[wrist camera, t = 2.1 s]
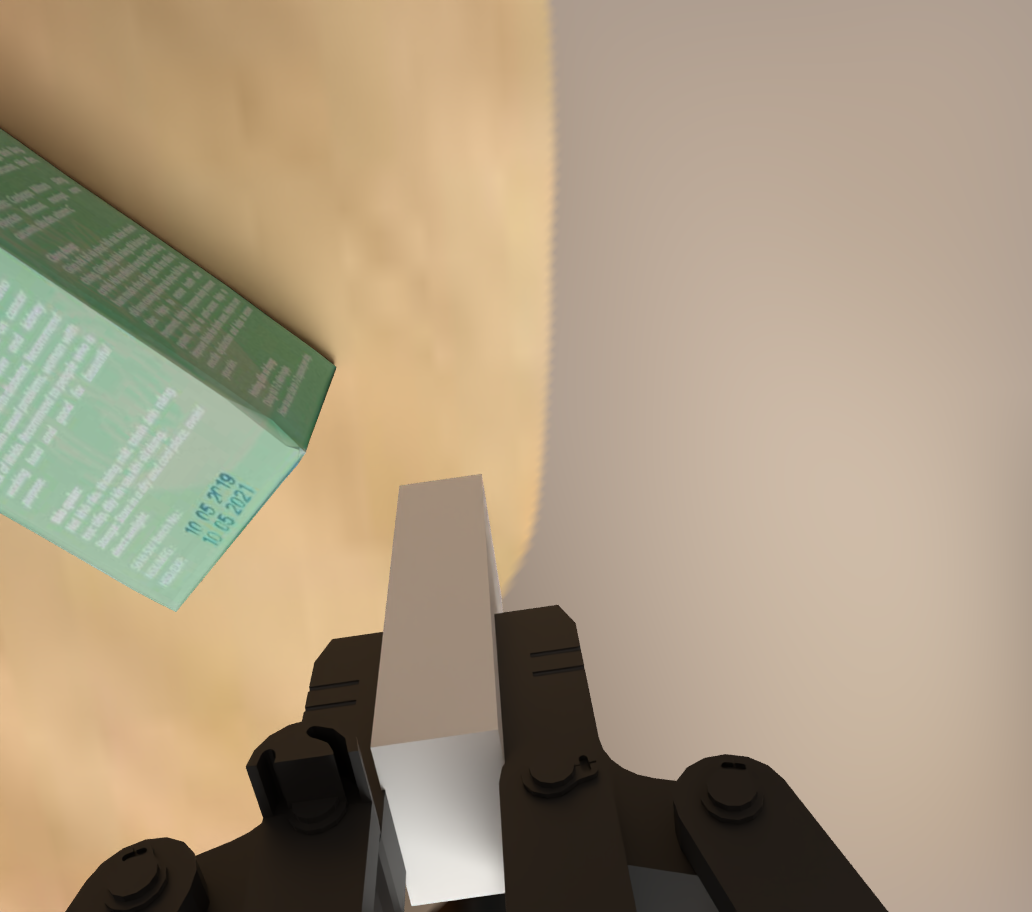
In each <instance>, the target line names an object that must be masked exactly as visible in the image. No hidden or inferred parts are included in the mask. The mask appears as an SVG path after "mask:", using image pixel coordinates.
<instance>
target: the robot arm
mask: <svg viewBox="0 0 1032 912" xmlns="http://www.w3.org/2000/svg"><path fill="white" fill-rule="evenodd" d="M309 688H310V692H308V695H307V700H306V705H305V710H306V711H305V712H304V714H303V719H302V722H299V723H295V724H291V725H288V726H286V727H285V728H283V729H281V730H279V731H277V732H276V733H274V734H272V735H270V736H269V737H268V738H267V739H266V740H265V741H264V742H263V743H262V744H260V745H259V746H258V747H257V748H256V749H255V750H254V752H253V754H252V756H251V758H250V760H249V761H248V763H247V765H246V769H247V772H248V775H249V778H250V781H251V784H252V787H253V790H254V792H255V795H256V798H257V801H258V804H259V807H260V810H261V813H262V816H263V821H262V823H261V824H260V825H259V826H257V827H256V828H254V829H253V830H252V831H250V832H249V833H247V834H245V835H243V836H241V837H239V838H237V839H235V840H233V841H231V842H228V843H226V844H223V845H221V846H218V847H216V848H214V849H211V850H209V851H206V852H204V853H201V854H199V855H196V856H195V854H194V852H193V851H192V850H191V849H190V848H189V847H188V846H187V845H186V844H185V843H184V842H182V841H178V840H175V839H171V838H167V837H165V838H156V839H147V840H143V841H141V842H138V843H136V844H133V845H131V846H128V847H126V848H123V849H122V850H120V851H119V852H117V853H116V854H115V855H113V856H112V857H110V858H109V859H107V860H106V861H105V862H103V863H102V864H101V865H100V866H99V867H98V868H97V870H96V871H95V872H94V873H93V874H92V875H91V876H90V877H89V878H88V880H87V881H86V882H85V883H84V885H83V886H82V888H81V889H80V891H79V892H78V894H77V895H76V897H75V898H74V900H73V901H72V903H71V904H70V906H69V907H68V909H67V910H66V912H404V902H405V885H406V886H407V890H408V894H409V898H410V901H411V905H412V906H416V905H422V904H429V903H437V902H444V901H451V900H458V899H465V898H472V897H479V896H486V895H493V894H500V893H505V900H506V912H888V911H887V910H886V908H885V907H884V906H883V904H882V903H881V902H880V901H879V899H878V898H877V897H876V896H875V894H874V893H873V892H872V890H871V889H870V888H869V887H868V886H867V884H866V883H865V882H864V880H863V879H862V878H861V877H860V875H859V874H858V873H857V871H856V870H855V869H854V868H853V866H852V865H851V864H850V863H849V861H848V860H847V859H846V858H845V856H844V855H843V854H842V852H841V851H840V850H839V849H838V847H837V846H836V845H835V844H834V842H833V841H832V840H831V838H830V837H829V836H828V835H827V833H826V832H825V831H824V830H823V828H822V827H821V826H820V825H819V823H818V822H817V821H816V819H815V818H814V817H813V816H812V814H811V813H810V812H809V811H808V809H807V808H806V807H805V806H804V804H803V803H802V802H801V800H800V799H799V798H798V797H797V795H796V794H795V793H794V791H793V790H792V789H791V788H790V787H789V785H788V784H787V783H786V781H785V780H784V779H783V778H782V777H781V776H780V775H778V774H777V773H776V772H775V771H774V770H773V769H772V768H770V767H769V766H768V765H766V764H763V763H761V762H759V761H756V760H754V759H752V758H749V757H744V756H735V755H726V754H725V755H719V756H713V757H707V758H704V759H702V760H700V761H698V762H696V763H695V764H693V765H691V766H689V767H687V768H686V770H685V771H684V772H683V774H682V775H681V776H680V777H679V779H678V780H677V781H672V780H664V779H656V778H651V777H646V776H641V775H637V774H635V773H633V772H630V771H628V770H626V769H624V768H622V767H621V766H619V765H618V764H616V763H615V762H614V761H613V760H611V759H610V757H609V756H608V755H607V753H606V752H605V751H604V750H603V748H602V745H601V743H600V740H599V737H598V732H597V727H596V722H595V717H594V712H593V707H592V703H591V698H590V693H589V688H588V683H587V678H586V673H585V669H584V663H583V659H582V653H581V649H580V643H579V638H578V633H577V629H576V623H575V622H574V621H573V620H572V619H571V618H570V617H569V616H568V615H567V614H566V613H565V612H564V611H563V610H562V609H561V608H560V606H559V605H554V606H547V607H540V608H533V609H526V610H519V611H512V612H505V613H503V609H502V597H501V591H500V585H499V579H498V573H497V566H496V560H495V554H494V548H493V542H492V535H491V529H490V523H489V517H488V511H487V504H486V498H485V492H484V486H483V480H482V474H478V475H471V476H464V477H457V478H450V479H443V480H436V481H429V482H422V483H415V484H408V485H401V486H399V494H398V503H397V512H396V521H395V530H394V539H393V548H392V557H391V566H390V575H389V584H388V594H387V603H386V612H385V621H384V630H383V632H380V633H373V634H365V635H358V636H351V637H344V638H337V639H332V640H331V642H330V643H329V644H328V645H327V647H326V648H325V649H324V651H323V652H322V653H321V655H320V656H319V657H318V658H317V660H316V661H315V662H314V667H313V672H312V676H311V681H310V686H309Z"/></svg>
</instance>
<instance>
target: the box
mask: <svg viewBox="0 0 1032 912" xmlns="http://www.w3.org/2000/svg"><path fill="white" fill-rule="evenodd" d="M335 370H336V366H335V365H333V364H332V363H331V362H329V361H328V360H327V359H326V358H324V357H323V356H322V355H320V354H319V353H318V352H317V351H315V350H314V349H313V348H311V347H310V346H308V345H307V344H306V343H304V342H303V341H302V340H300V339H299V338H297V337H296V336H295V335H293V334H292V333H291V332H289V331H288V330H286V329H285V328H284V327H282V326H281V325H279V324H278V323H277V322H275V321H274V320H273V319H271V318H270V317H269V316H267V315H266V314H264V313H263V312H262V311H260V310H259V309H258V308H256V307H255V306H254V305H252V304H251V303H249V302H248V301H247V300H245V299H244V298H243V297H241V296H240V295H239V294H237V293H236V292H235V291H233V290H232V289H230V288H229V287H228V286H226V285H225V284H223V283H222V282H221V281H219V280H218V279H216V278H215V277H213V276H212V275H210V274H209V273H208V272H206V271H205V270H203V269H202V268H200V267H199V266H197V265H196V264H195V263H193V262H192V261H190V260H189V259H187V258H186V257H184V256H183V255H182V254H180V253H179V252H177V251H176V250H174V249H173V248H171V247H170V246H169V245H167V244H166V243H164V242H163V241H161V240H160V239H158V238H157V237H156V236H154V235H153V234H151V233H150V232H148V231H147V230H145V229H144V228H143V227H141V226H140V225H138V224H137V223H135V222H134V221H132V220H131V219H130V218H128V217H127V216H125V215H124V214H122V213H121V212H119V211H118V210H116V209H115V208H114V207H112V206H111V205H109V204H108V203H106V202H105V201H103V200H102V199H100V198H99V197H97V196H96V195H95V194H93V193H92V192H90V191H89V190H87V189H86V188H84V187H83V186H81V185H80V184H78V183H77V182H75V181H74V180H73V179H71V178H70V177H68V176H67V175H65V174H64V173H63V172H61V171H60V170H58V169H57V168H56V167H54V166H53V165H51V164H50V163H48V162H47V161H46V160H44V159H43V158H41V157H40V156H39V155H37V154H36V153H34V152H33V151H32V150H30V149H29V148H27V147H26V146H25V145H23V144H22V143H20V142H19V141H17V140H16V139H15V138H13V137H12V136H10V135H9V134H8V133H6V132H5V131H3V130H2V129H0V513H1V514H3V515H5V516H6V517H8V518H10V519H12V520H13V521H15V522H17V523H19V524H20V525H22V526H24V527H26V528H27V529H29V530H31V531H33V532H34V533H36V534H38V535H40V536H41V537H43V538H45V539H47V540H48V541H50V542H52V543H53V544H55V545H57V546H59V547H60V548H62V549H64V550H65V551H67V552H69V553H71V554H72V555H74V556H76V557H78V558H79V559H81V560H83V561H84V562H86V563H88V564H90V565H91V566H93V567H95V568H96V569H98V570H100V571H102V572H103V573H105V574H107V575H109V576H110V577H112V578H114V579H115V580H117V581H119V582H121V583H122V584H124V585H126V586H127V587H129V588H131V589H133V590H134V591H136V592H138V593H140V594H142V595H144V596H146V597H148V598H149V599H151V600H153V601H155V602H157V603H159V604H161V605H163V606H165V607H167V608H169V609H171V610H173V611H175V612H177V610H178V609H179V608H180V606H181V605H182V604H183V603H184V601H185V600H186V599H187V598H188V597H189V595H190V594H191V593H192V592H193V590H194V589H195V588H196V587H197V586H198V584H199V583H200V582H201V581H202V580H203V578H204V577H205V576H206V575H207V573H208V572H209V571H210V570H211V569H212V567H213V566H214V565H215V564H216V562H217V561H218V560H219V559H220V558H221V556H222V555H223V554H224V553H225V552H226V550H227V549H228V548H229V547H230V545H231V544H232V543H233V542H234V541H235V539H236V538H237V537H238V536H239V535H240V533H241V532H242V531H243V530H244V528H245V527H246V526H247V525H248V524H249V522H250V521H251V520H252V519H253V517H254V516H255V515H256V514H257V513H258V511H259V510H260V509H261V508H262V507H263V505H264V504H265V503H266V502H267V500H268V499H269V498H270V497H271V496H272V494H273V493H274V492H275V491H276V489H277V488H278V487H279V486H280V485H281V483H282V482H283V481H284V480H285V479H286V477H287V476H288V475H289V474H290V473H291V472H292V470H293V469H294V468H295V467H296V466H297V465H298V463H299V462H300V460H301V459H302V457H303V456H304V454H305V453H306V450H307V447H308V443H309V440H310V438H311V435H312V432H313V430H314V427H315V424H316V422H317V419H318V416H319V414H320V411H321V408H322V405H323V403H324V400H325V397H326V395H327V392H328V389H329V387H330V384H331V381H332V378H333V376H334V373H335Z"/></svg>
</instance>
